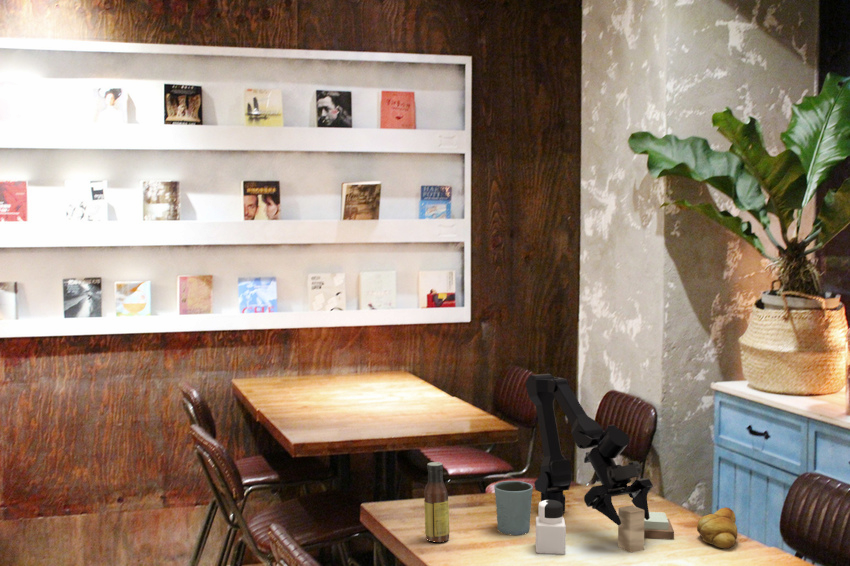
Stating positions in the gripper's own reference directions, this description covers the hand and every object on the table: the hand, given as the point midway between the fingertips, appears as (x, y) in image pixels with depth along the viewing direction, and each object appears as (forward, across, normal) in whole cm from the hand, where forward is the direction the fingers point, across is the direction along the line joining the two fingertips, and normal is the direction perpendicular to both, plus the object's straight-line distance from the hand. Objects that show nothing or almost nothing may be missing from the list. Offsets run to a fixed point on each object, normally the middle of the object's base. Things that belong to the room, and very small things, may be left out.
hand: (634, 521), depth 218 cm
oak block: (+4, 0, +6) cm, 7 cm away
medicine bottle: (-2, -18, +12) cm, 22 cm away
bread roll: (+9, +23, +1) cm, 25 cm away
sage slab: (-3, +13, +10) cm, 17 cm away
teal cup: (-14, -18, +24) cm, 33 cm away
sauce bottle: (-16, -40, +26) cm, 50 cm away
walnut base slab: (-1, +13, +11) cm, 17 cm away
